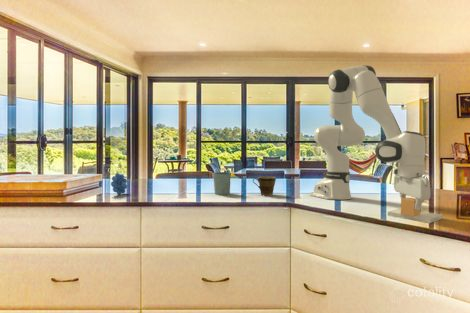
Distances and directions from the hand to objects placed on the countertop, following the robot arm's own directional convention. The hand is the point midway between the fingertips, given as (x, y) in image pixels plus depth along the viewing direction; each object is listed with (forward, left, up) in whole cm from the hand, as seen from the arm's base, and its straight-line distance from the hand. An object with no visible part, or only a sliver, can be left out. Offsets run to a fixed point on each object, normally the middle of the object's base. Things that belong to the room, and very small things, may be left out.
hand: (410, 206), depth 126 cm
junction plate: (0, +4, -5) cm, 6 cm away
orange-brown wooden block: (0, 0, -3) cm, 3 cm away
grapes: (-121, -73, -5) cm, 141 cm away
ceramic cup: (-74, -9, -5) cm, 75 cm away
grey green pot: (-91, -26, -5) cm, 95 cm away
